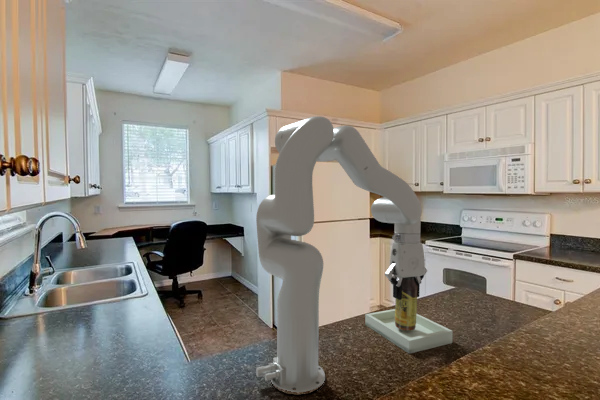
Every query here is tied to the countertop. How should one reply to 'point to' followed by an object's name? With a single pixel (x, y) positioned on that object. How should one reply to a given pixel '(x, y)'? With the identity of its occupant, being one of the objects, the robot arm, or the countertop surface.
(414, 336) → the tray
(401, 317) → the sauce bottle
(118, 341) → the countertop surface
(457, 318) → the countertop surface
